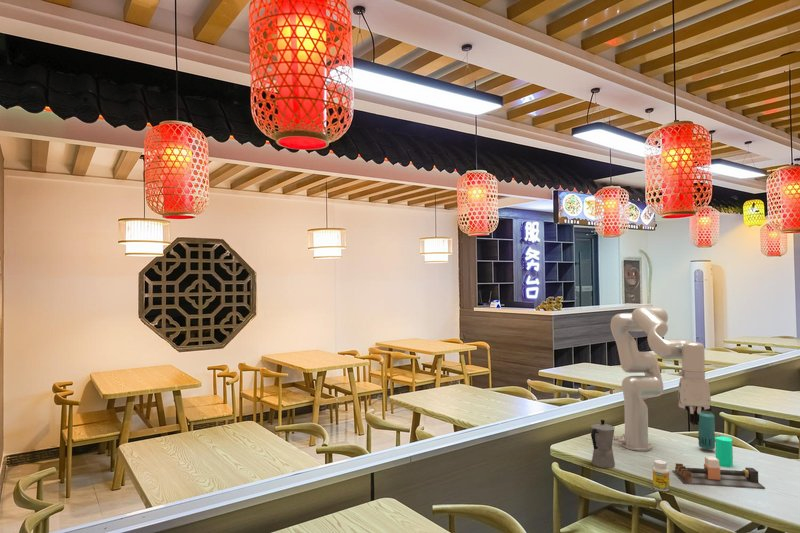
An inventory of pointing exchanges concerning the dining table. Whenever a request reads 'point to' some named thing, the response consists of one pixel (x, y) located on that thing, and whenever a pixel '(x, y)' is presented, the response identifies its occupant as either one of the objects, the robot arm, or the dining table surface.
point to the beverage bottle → (706, 430)
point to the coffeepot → (602, 445)
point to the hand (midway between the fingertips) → (694, 423)
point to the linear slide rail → (727, 477)
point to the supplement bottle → (661, 476)
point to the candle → (724, 451)
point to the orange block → (712, 468)
